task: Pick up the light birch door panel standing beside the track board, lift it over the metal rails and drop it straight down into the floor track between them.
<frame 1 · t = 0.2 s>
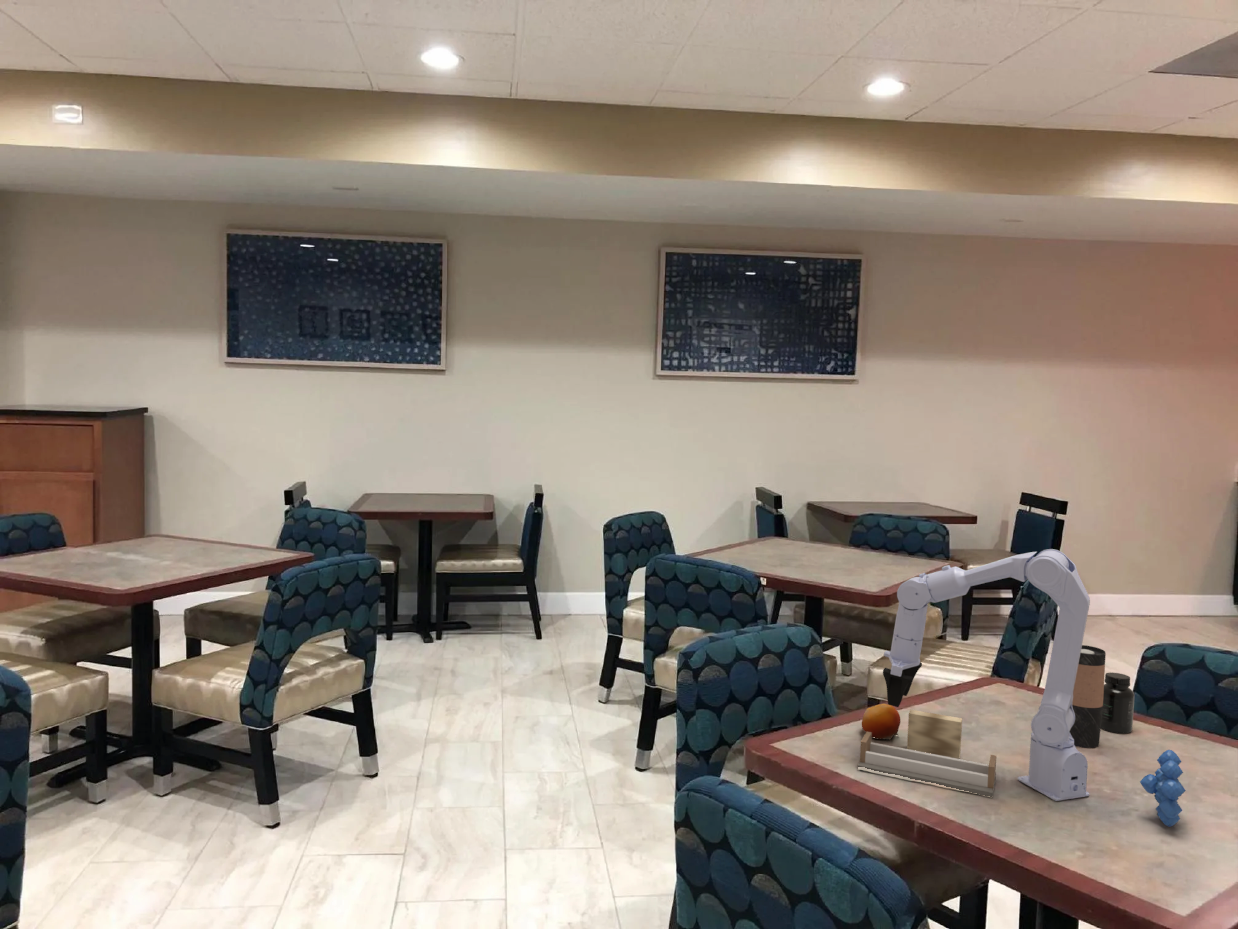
hand: (897, 699, 178), 10 cm above the table, tool pointing down, fingers open, 7 cm apart
travel mug: (1079, 742, 186), on the table
track board: (926, 774, 167), on the table
supplement bottle: (1114, 729, 194), on the table
grapes: (1160, 820, 151), on the table
fruit: (880, 737, 186), on the table
door panel: (933, 754, 177), on the table
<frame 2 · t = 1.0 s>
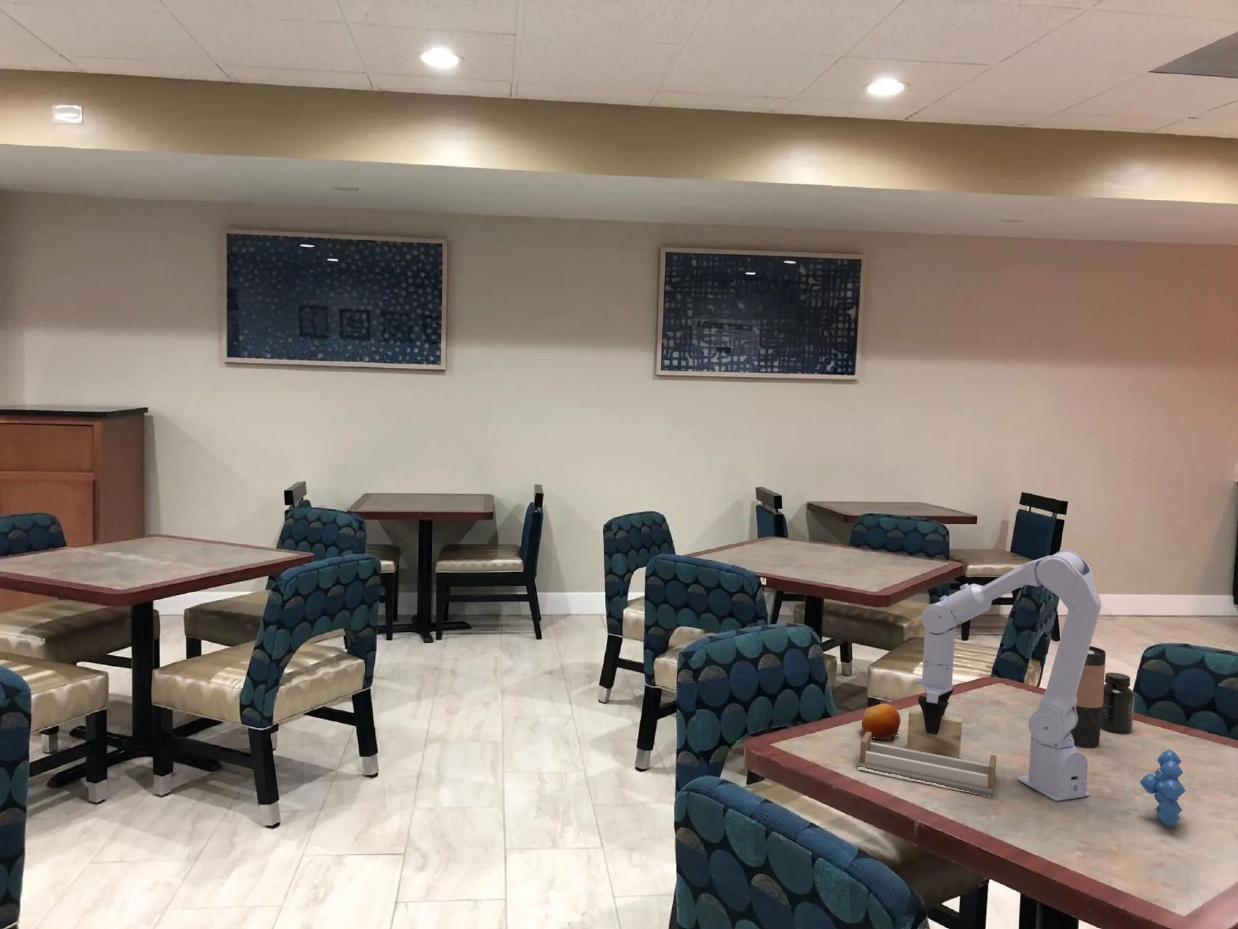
hand: (934, 727, 177), 6 cm above the table, tool pointing down, fingers open, 7 cm apart
nothing on the table moved.
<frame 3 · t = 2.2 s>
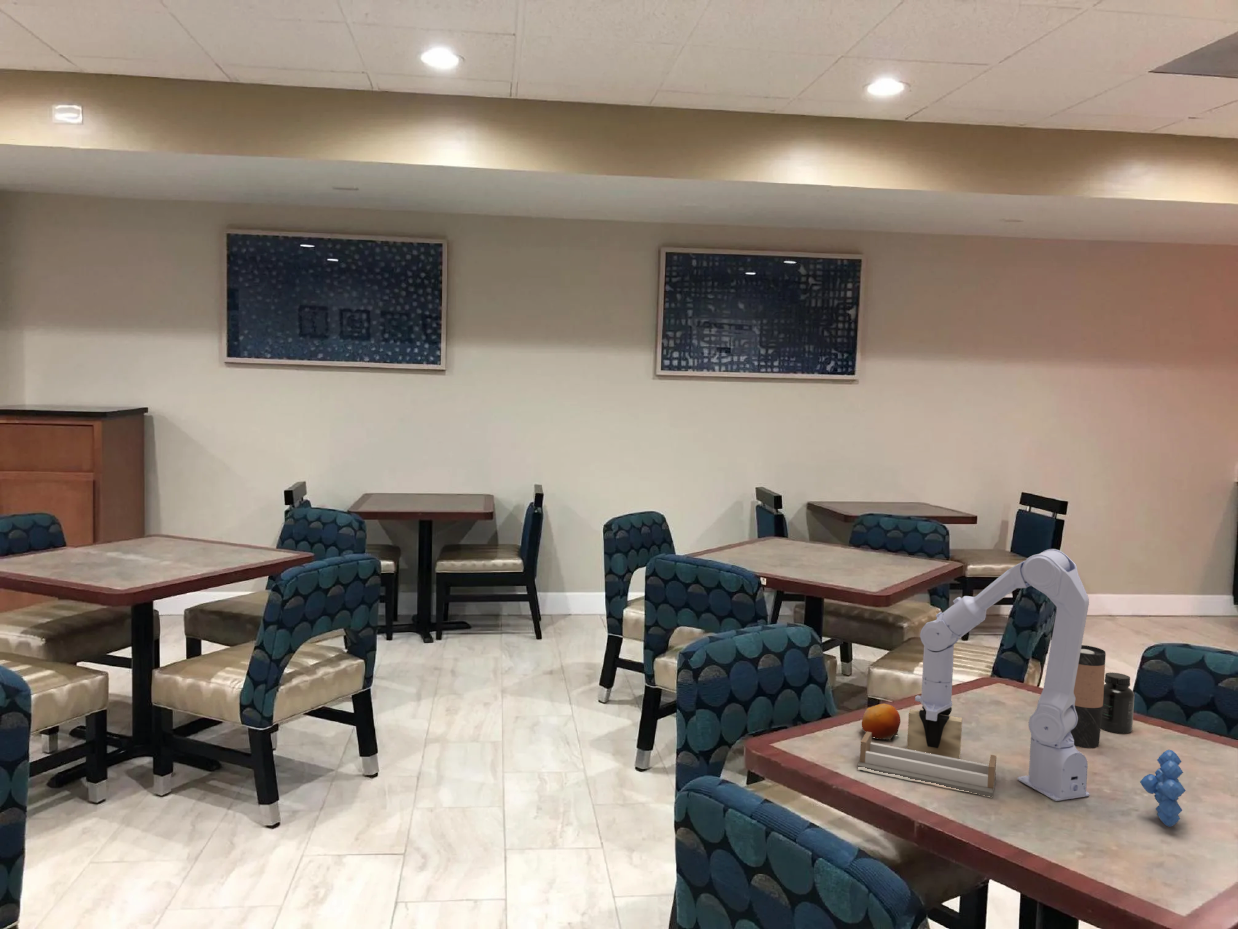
hand: (933, 744, 177), 2 cm above the table, tool pointing down, fingers closed on door panel, 2 cm apart
door panel: (933, 754, 177), on the table, touching gripper
everything else where it was.
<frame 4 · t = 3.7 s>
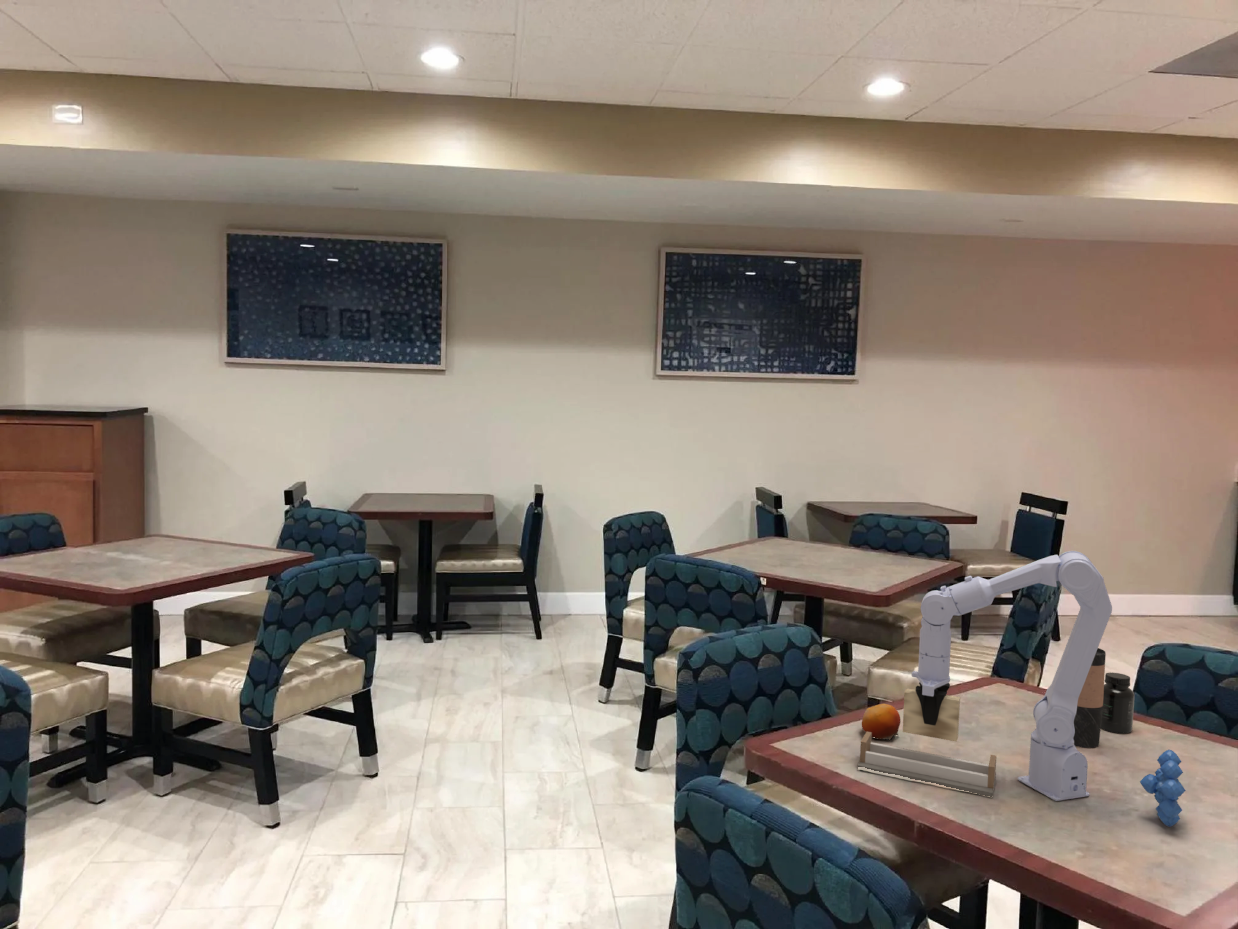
hand: (931, 721, 170), 9 cm above the table, tool pointing down, fingers closed on door panel, 2 cm apart
door panel: (930, 734, 170), point 6 cm above the table, touching gripper
everything else where it was.
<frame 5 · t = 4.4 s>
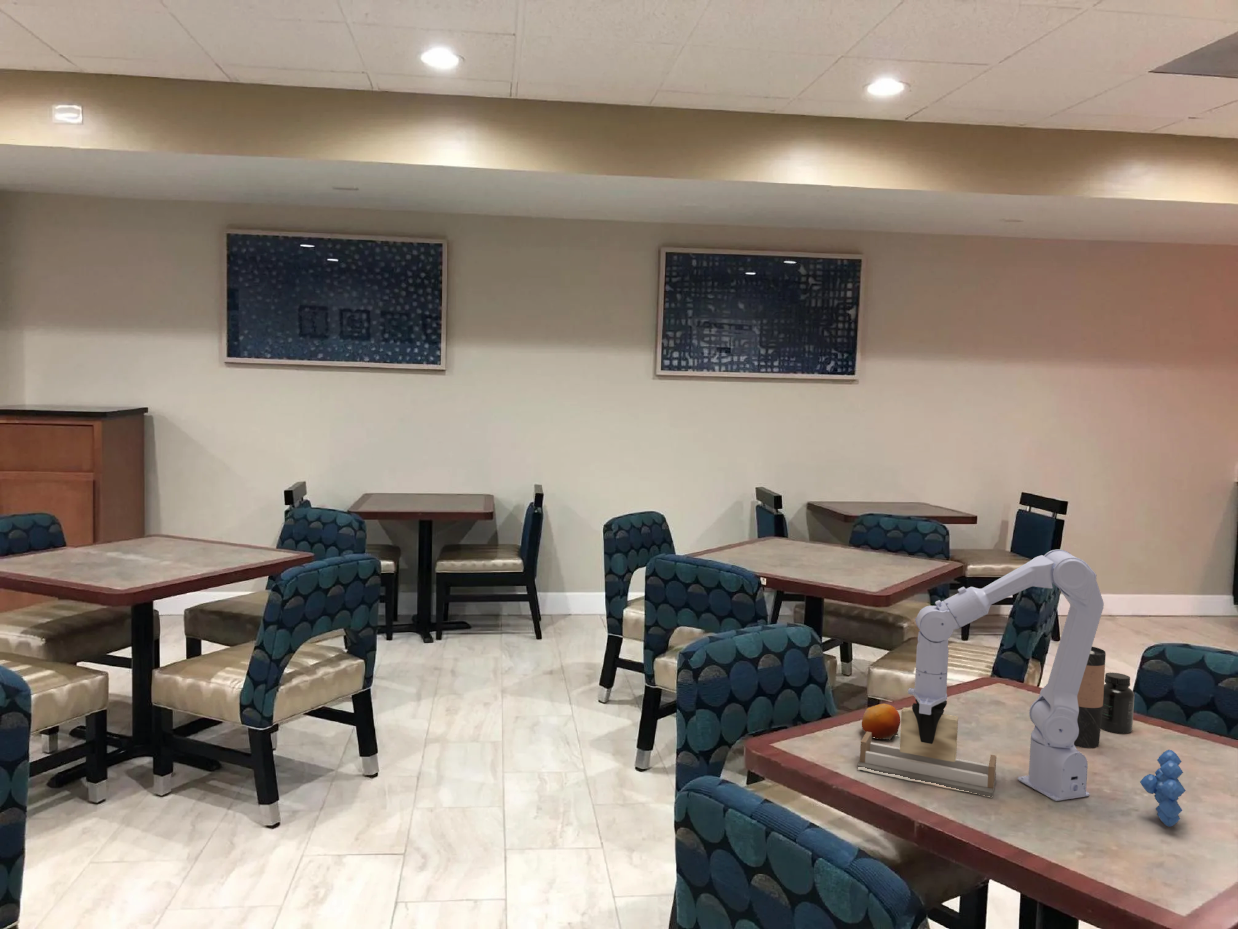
hand: (927, 739, 167), 7 cm above the table, tool pointing down, fingers closed on door panel, 2 cm apart
door panel: (927, 754, 167), point 4 cm above the table, touching gripper
everything else where it was.
when the fingers open (6 cm above the table, at t = 5.2 s): door panel drops 2 cm, resting on track board.
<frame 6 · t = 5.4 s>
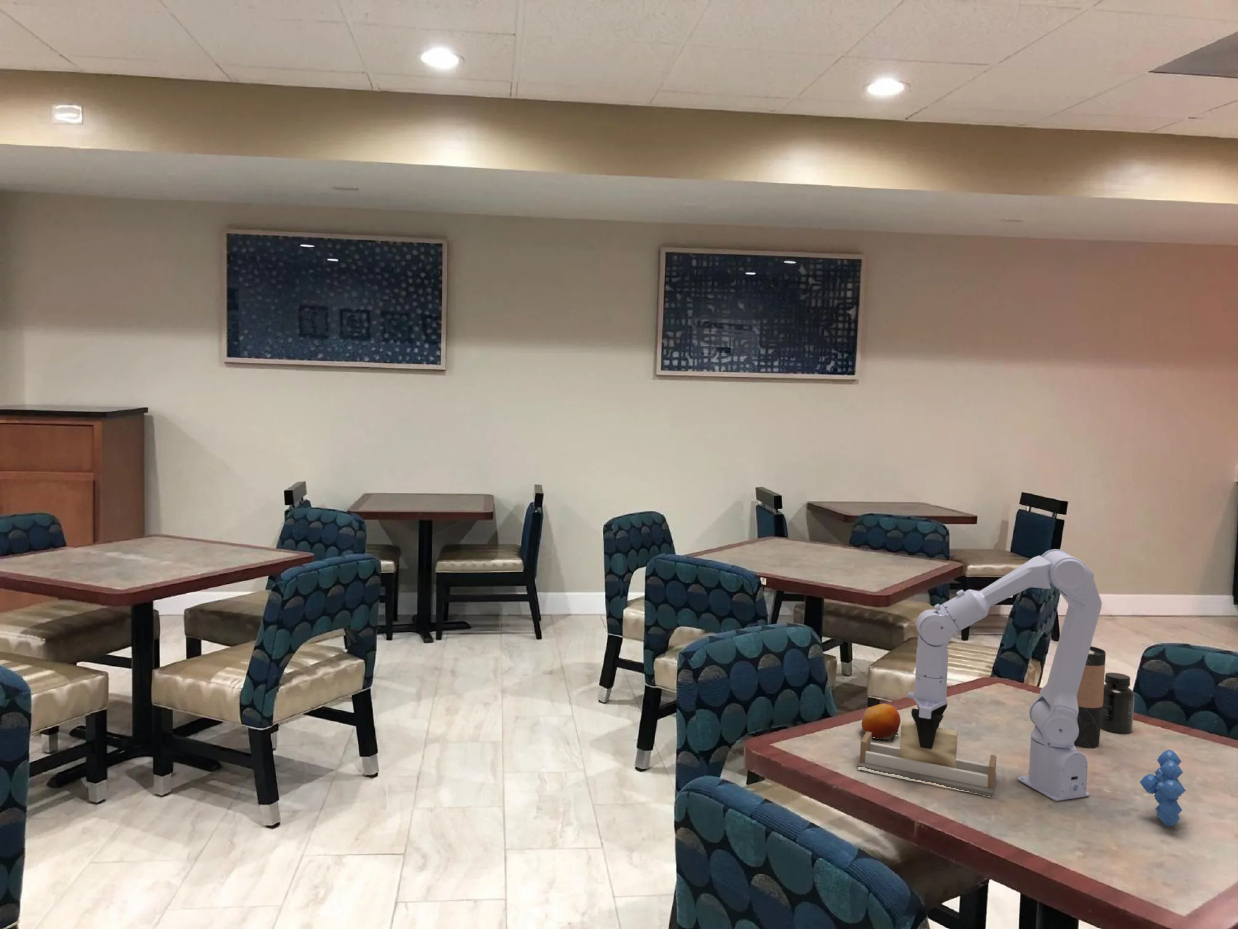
hand: (927, 743, 167), 6 cm above the table, tool pointing down, fingers open, 4 cm apart
door panel: (927, 769, 167), point 1 cm above the table, touching track board
everything else where it was.
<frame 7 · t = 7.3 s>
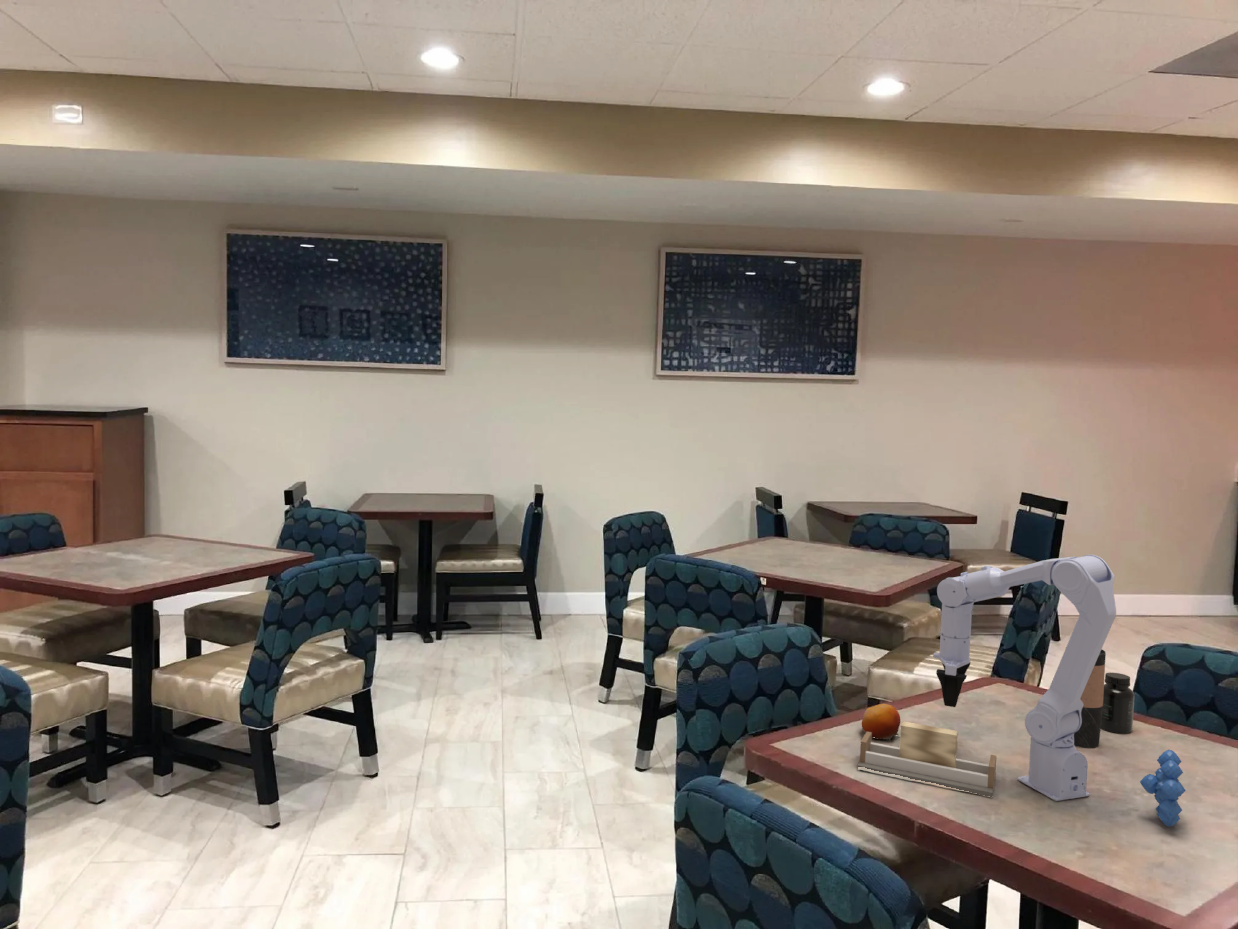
hand: (951, 700, 179), 10 cm above the table, tool pointing down, fingers open, 7 cm apart
nothing on the table moved.
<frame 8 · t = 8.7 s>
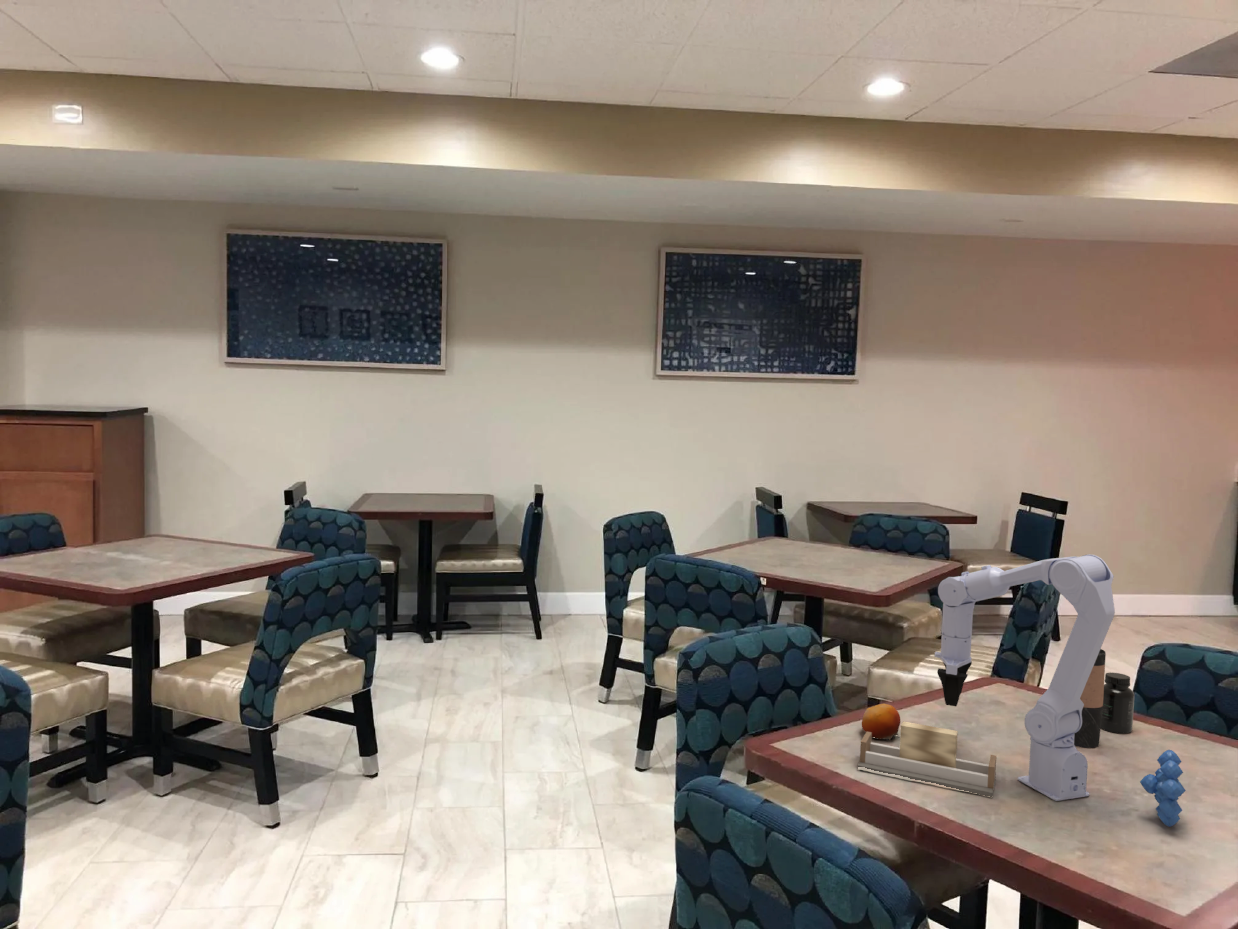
hand: (953, 699, 179), 10 cm above the table, tool pointing down, fingers open, 7 cm apart
nothing on the table moved.
at the end: door panel 0.1 cm off-centre on the track board, point 1.0 cm above the track board's base; door panel tilted 0°; the gripper is holding nothing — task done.
